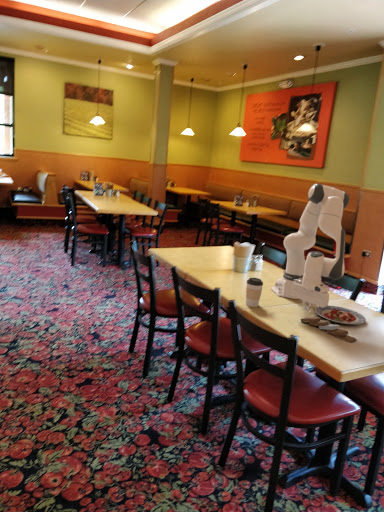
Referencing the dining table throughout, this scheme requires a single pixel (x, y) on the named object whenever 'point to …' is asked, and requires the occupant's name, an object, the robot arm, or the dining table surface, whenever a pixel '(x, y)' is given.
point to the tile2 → (319, 323)
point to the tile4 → (338, 332)
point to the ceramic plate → (340, 315)
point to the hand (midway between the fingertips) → (306, 310)
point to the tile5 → (347, 338)
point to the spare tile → (329, 327)
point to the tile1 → (310, 319)
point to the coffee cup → (253, 291)
